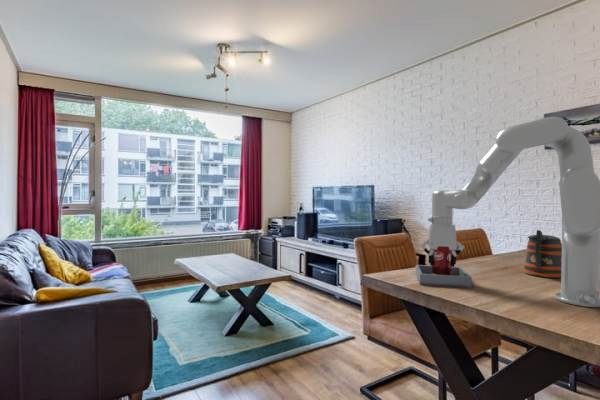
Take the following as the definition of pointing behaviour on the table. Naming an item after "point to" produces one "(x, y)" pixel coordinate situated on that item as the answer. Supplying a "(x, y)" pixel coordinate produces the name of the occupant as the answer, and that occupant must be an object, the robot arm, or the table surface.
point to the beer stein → (543, 256)
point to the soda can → (442, 261)
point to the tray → (443, 277)
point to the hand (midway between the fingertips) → (441, 265)
